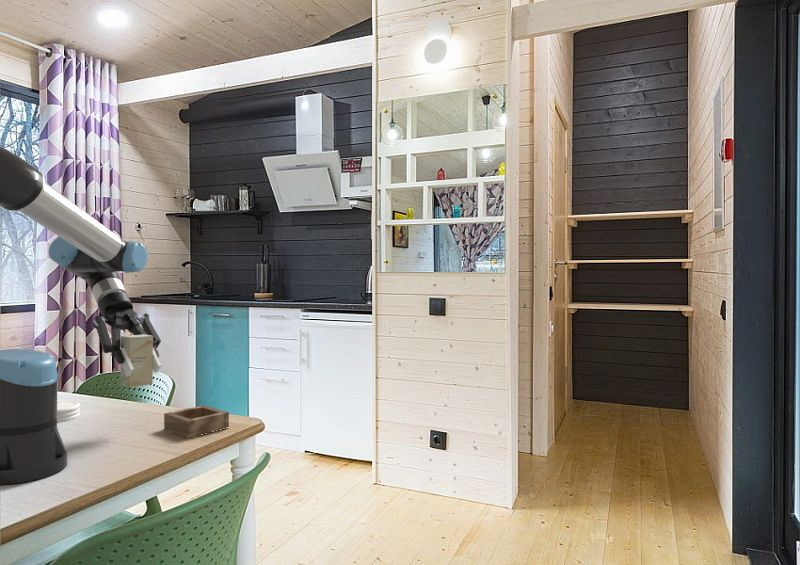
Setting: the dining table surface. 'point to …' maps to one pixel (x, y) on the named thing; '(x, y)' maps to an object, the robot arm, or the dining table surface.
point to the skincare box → (138, 360)
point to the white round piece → (67, 410)
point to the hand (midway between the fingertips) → (144, 370)
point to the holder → (196, 421)
